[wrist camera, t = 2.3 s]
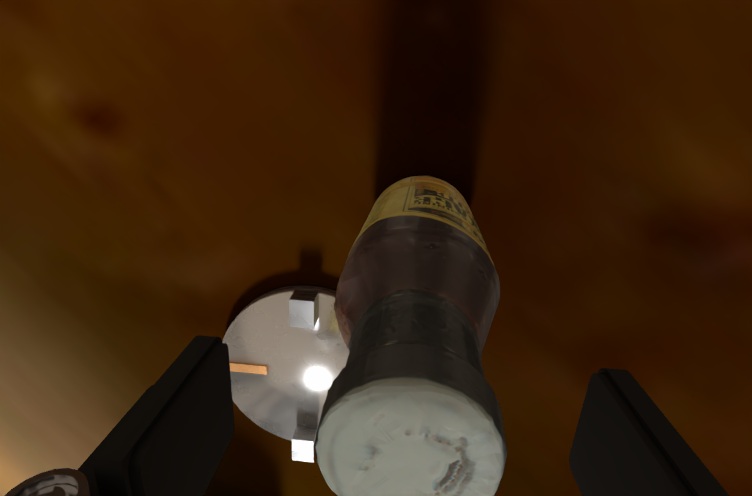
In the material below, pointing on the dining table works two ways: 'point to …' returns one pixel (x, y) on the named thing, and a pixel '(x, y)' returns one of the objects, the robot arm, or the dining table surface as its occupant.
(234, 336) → the base
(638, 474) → the robot arm
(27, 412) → the dining table surface
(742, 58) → the dining table surface
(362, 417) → the sauce bottle
